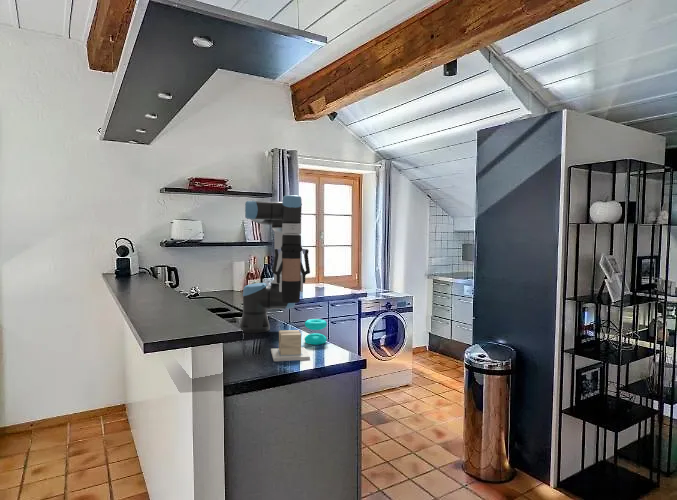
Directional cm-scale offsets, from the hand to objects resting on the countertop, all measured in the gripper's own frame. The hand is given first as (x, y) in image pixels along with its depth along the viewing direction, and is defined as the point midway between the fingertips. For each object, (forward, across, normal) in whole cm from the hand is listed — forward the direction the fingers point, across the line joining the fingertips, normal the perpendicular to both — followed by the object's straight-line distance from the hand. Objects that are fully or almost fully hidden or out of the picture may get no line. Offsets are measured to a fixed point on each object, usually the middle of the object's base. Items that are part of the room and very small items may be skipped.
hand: (290, 291), depth 177 cm
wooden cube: (+25, 0, 0) cm, 25 cm away
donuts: (+26, +14, +19) cm, 35 cm away
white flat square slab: (+26, 0, 0) cm, 26 cm away
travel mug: (+4, 0, 0) cm, 4 cm away
